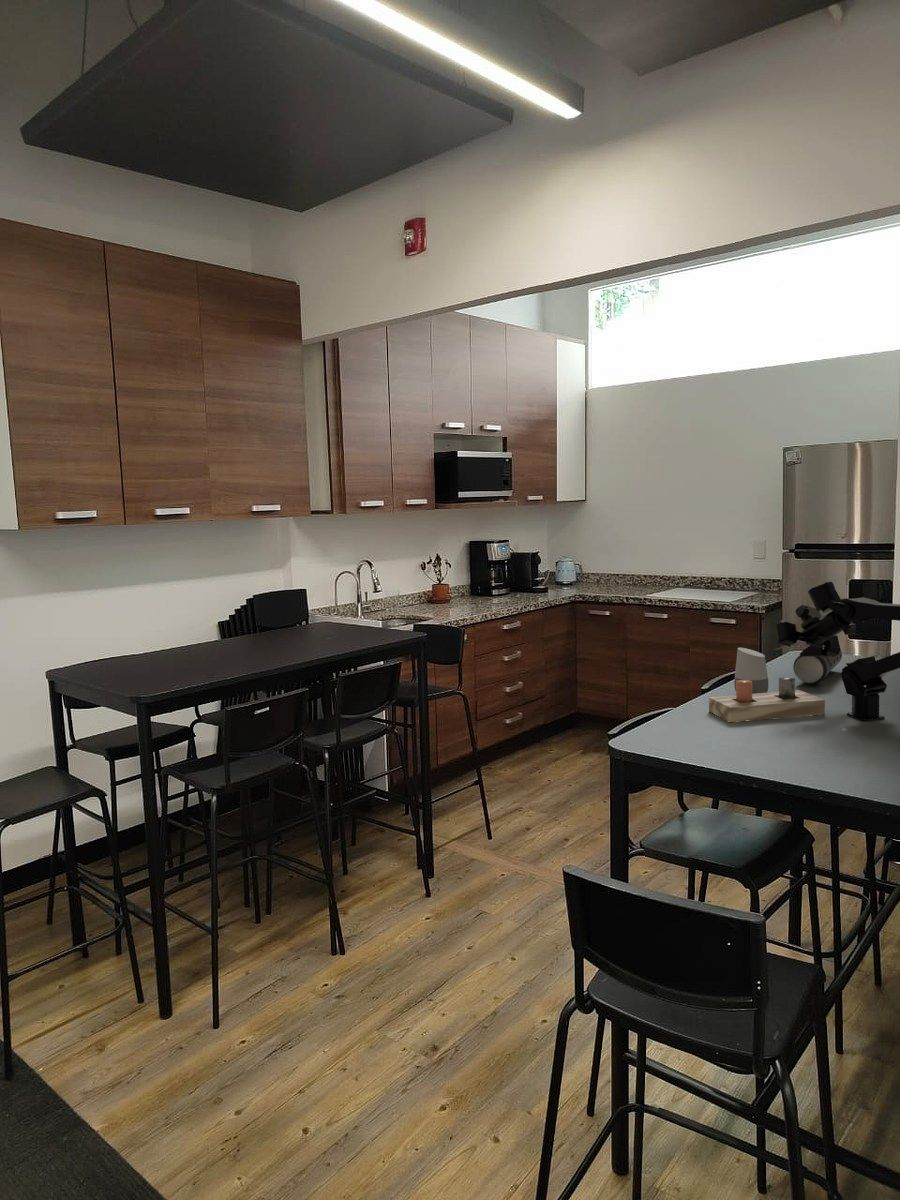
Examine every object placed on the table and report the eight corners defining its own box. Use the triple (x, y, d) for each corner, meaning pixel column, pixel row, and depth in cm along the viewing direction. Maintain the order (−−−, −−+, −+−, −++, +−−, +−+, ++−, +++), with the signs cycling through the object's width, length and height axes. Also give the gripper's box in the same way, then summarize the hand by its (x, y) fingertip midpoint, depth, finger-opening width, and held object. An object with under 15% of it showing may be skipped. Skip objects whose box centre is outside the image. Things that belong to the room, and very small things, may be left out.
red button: (755, 703, 212) (755, 682, 212) (740, 704, 212) (740, 683, 211) (747, 699, 216) (747, 679, 216) (733, 700, 216) (733, 680, 215)
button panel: (824, 714, 211) (824, 699, 210) (730, 722, 208) (729, 707, 207) (799, 704, 223) (799, 690, 222) (709, 711, 219) (708, 697, 219)
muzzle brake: (843, 671, 262) (843, 640, 261) (825, 689, 239) (825, 654, 238) (811, 669, 267) (811, 638, 266) (791, 686, 245) (791, 653, 244)
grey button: (798, 699, 214) (798, 679, 213) (783, 700, 213) (783, 680, 213) (789, 696, 218) (789, 676, 217) (775, 697, 217) (775, 677, 217)
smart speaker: (769, 700, 229) (769, 651, 227) (734, 699, 232) (734, 651, 230) (767, 693, 238) (767, 645, 236) (734, 692, 241) (734, 645, 239)
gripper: (850, 608, 221) (809, 633, 234) (794, 592, 216) (755, 619, 229) (858, 644, 215) (816, 668, 228) (801, 628, 210) (761, 654, 223)
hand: (787, 651), depth 227 cm, fingers open, 9 cm apart
